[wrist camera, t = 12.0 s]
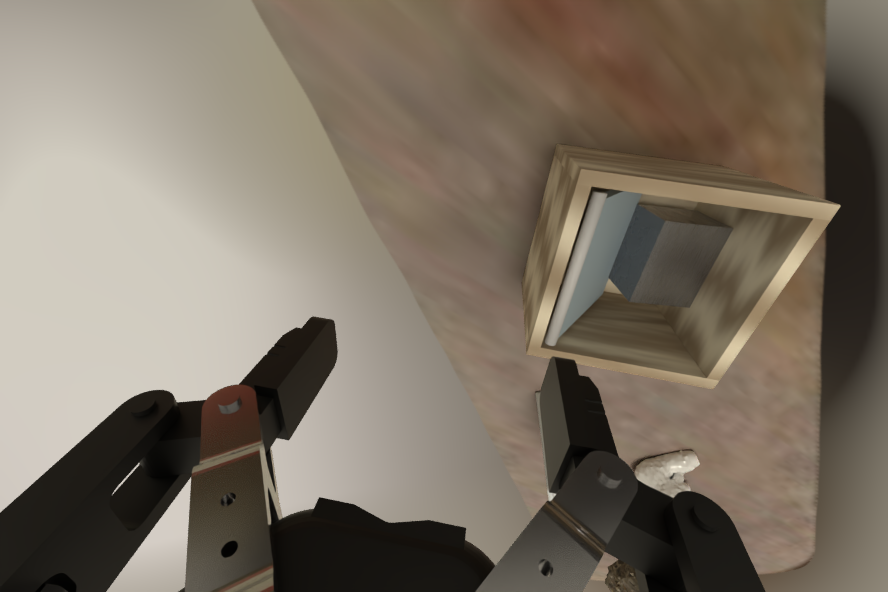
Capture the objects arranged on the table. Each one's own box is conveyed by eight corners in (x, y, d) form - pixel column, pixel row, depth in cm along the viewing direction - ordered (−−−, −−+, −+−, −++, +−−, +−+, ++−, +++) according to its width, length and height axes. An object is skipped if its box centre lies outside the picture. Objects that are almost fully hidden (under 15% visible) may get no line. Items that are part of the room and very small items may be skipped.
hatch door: (590, 191, 24) (604, 195, 24) (638, 174, 33) (650, 176, 32) (542, 342, 31) (553, 347, 30) (593, 294, 40) (602, 297, 39)
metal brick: (665, 221, 29) (733, 228, 30) (637, 203, 34) (697, 210, 34) (629, 301, 33) (689, 307, 34) (608, 277, 38) (661, 282, 38)
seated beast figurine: (684, 487, 57) (723, 574, 46) (626, 483, 58) (651, 566, 48) (696, 448, 52) (742, 535, 42) (633, 445, 54) (663, 528, 44)
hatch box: (556, 143, 35) (581, 168, 23) (723, 166, 34) (841, 205, 22) (521, 282, 43) (526, 354, 31) (655, 305, 42) (713, 389, 30)
